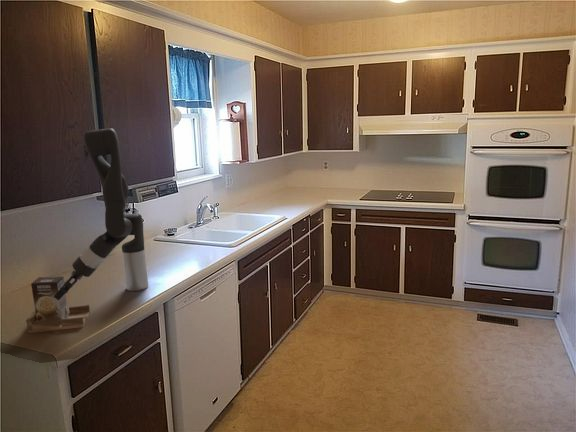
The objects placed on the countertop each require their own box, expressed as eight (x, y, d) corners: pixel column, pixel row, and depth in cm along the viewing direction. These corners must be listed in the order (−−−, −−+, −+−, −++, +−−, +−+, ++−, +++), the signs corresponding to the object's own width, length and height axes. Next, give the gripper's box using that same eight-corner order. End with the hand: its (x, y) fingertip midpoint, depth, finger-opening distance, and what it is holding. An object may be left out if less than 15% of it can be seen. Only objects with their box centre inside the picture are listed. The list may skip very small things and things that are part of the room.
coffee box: (36, 325, 158) (29, 283, 155) (44, 317, 165) (38, 277, 161) (62, 324, 159) (56, 282, 155) (69, 316, 165) (63, 275, 162)
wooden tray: (39, 318, 166) (37, 306, 165) (90, 313, 170) (88, 300, 169) (28, 333, 155) (26, 320, 154) (83, 326, 159) (81, 314, 158)
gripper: (85, 249, 166) (56, 280, 166) (75, 260, 152) (44, 295, 153) (101, 261, 168) (73, 292, 168) (93, 273, 154) (63, 307, 155)
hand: (59, 293), depth 160 cm, fingers open, 8 cm apart
